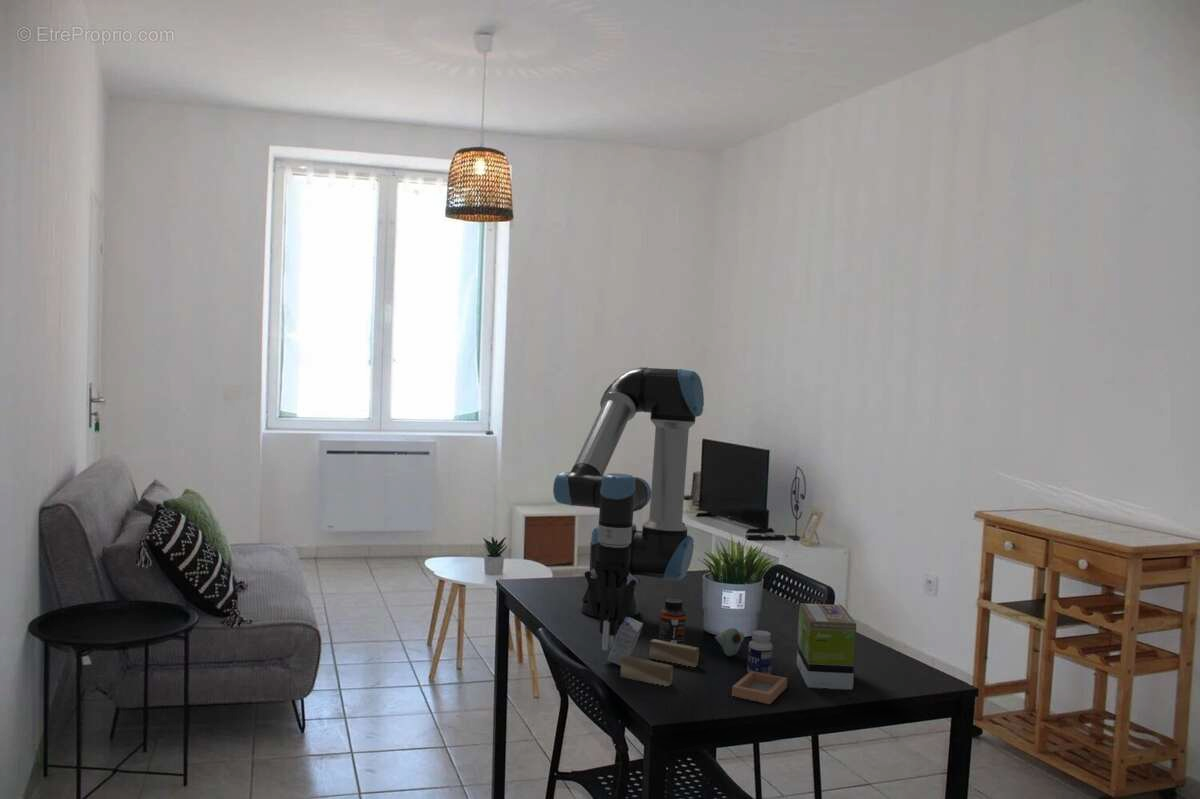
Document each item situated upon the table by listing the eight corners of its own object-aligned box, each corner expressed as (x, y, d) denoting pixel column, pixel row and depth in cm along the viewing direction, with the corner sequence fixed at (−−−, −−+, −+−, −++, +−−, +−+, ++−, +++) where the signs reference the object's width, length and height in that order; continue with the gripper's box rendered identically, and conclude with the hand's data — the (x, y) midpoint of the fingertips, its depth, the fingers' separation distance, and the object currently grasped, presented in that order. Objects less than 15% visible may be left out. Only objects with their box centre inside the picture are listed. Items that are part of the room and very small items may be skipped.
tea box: (794, 665, 228) (798, 601, 227) (839, 668, 227) (843, 603, 227) (806, 688, 213) (810, 619, 212) (854, 691, 212) (858, 622, 212)
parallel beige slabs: (652, 656, 229) (653, 639, 229) (697, 665, 224) (698, 647, 224) (620, 676, 214) (621, 658, 214) (668, 687, 209) (669, 668, 209)
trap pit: (750, 679, 216) (750, 670, 216) (786, 687, 212) (787, 678, 212) (731, 696, 205) (732, 686, 205) (769, 704, 202) (770, 694, 202)
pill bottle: (742, 670, 222) (744, 630, 222) (760, 667, 225) (762, 628, 224) (757, 677, 218) (759, 637, 217) (776, 674, 220) (778, 634, 220)
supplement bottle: (680, 653, 232) (682, 605, 232) (655, 649, 234) (657, 601, 234) (686, 646, 238) (689, 599, 237) (662, 642, 240) (665, 596, 239)
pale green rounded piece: (738, 652, 235) (740, 623, 235) (750, 657, 232) (751, 628, 232) (711, 656, 231) (713, 627, 231) (722, 661, 228) (724, 632, 227)
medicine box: (624, 668, 219) (639, 632, 218) (606, 660, 220) (620, 624, 219) (630, 658, 227) (644, 623, 226) (612, 649, 228) (626, 615, 227)
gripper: (580, 542, 223) (573, 647, 224) (633, 551, 217) (625, 658, 218) (596, 537, 229) (589, 639, 231) (647, 545, 223) (640, 650, 225)
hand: (607, 648), depth 224 cm, fingers closed
